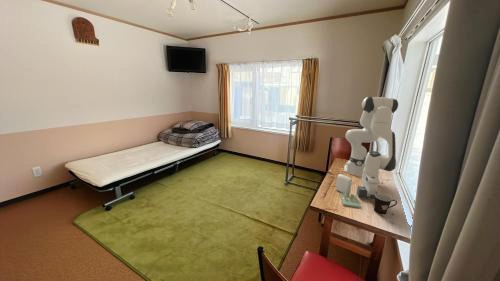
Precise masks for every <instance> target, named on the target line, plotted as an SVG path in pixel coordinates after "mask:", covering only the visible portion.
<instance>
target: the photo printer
mask: <svg viewBox="0 0 500 281" xmlns="http://www.w3.org/2000/svg"><path fill="white" fill-rule="evenodd" d="M352 183H353V180H352V179H351V178H350V177H349V176H347V175H345V174H338V175H337V177H336V183H335V190H336V191H338V192H339V193H346V194H351V190H352V189H351V188H352Z"/></svg>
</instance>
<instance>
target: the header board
mask: <svg viewBox="0 0 500 281" xmlns="http://www.w3.org/2000/svg"><path fill="white" fill-rule="evenodd" d="M339 196H340V199H341V202H342V206H346V207H351V208H358V209H361V207H362V206H361V204H360V202H359V200H358V196H357V194H353V193H352V194H351V193H350V194H346V193H342V192H339Z"/></svg>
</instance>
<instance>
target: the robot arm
mask: <svg viewBox="0 0 500 281" xmlns="http://www.w3.org/2000/svg"><path fill="white" fill-rule="evenodd" d="M398 108H399V102H398V100H397V99H396V98H389V97H386V96H385V97H384V96H380V97H378V96H366V97H364V99H363V100H362V102H361V109H362V110H363V111H362V113H361V117H360V119H359V124H360V126H361V127H363V128H359V129H358V128H351V129H348V130H347V131H346V132H345V136H344V137H345V139H346V141H347V142H349V143H350V146H351V153H350V157H349V160H348V161H347V162H345V164H344V165H343V172H344V173H347V174H349V175H352V176H356V177H357V176H358V177H361V179H360V180H361V182H362V185H363V187H365V188H366V190H367V193H366V196H367V197H370V195H375V194H376V192H377V193H378V188H379V184H380V177H379V172H380V171H379V170H382V171H383V170H384V171H385V172H386V171H387V172H391V171H394V170H395V169H396V168H397V158H396V157H397V156H396V155H397V154H396V150H397V149H396V135H395V132H394V131H393V130H392V128H391V124H392V120H393V119H392V118H393V113H395V112H396V111H397V110H398ZM379 138H381V139H383V140H384V141H386V142H387V144H388V145H387V146H388V148H387V149H388V150H387V153H388V154H387V155H386V154H381V153H380V152H378V151H376V150H370V151H368V150H367V149H366V147H365V146H363V145H362V143H374V142H377V141H378V140H379ZM367 151H368V152H367Z"/></svg>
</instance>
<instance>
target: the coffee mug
mask: <svg viewBox="0 0 500 281" xmlns="http://www.w3.org/2000/svg"><path fill="white" fill-rule="evenodd" d="M373 200H374V204H373V211H374V212H375V213H376V214H378V215H382V216H386V215H387V213H388V210H389V209H391V208H393V207H394V206H396V205H397V204H398V201H397V200H396V199H393V198H392V197H391V196H389V195H387V194H385V193H378V192H377V194H375V199H373ZM392 202H395V204H392ZM391 204H392V205H391ZM390 205H391V206H390Z"/></svg>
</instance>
